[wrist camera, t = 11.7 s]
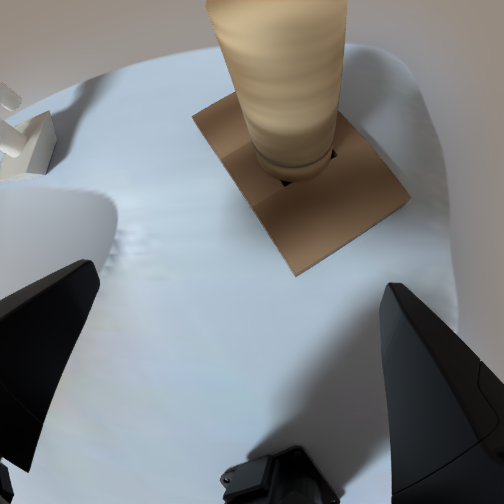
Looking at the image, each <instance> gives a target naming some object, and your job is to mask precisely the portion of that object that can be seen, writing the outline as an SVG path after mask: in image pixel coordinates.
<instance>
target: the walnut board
mask: <svg viewBox="0 0 504 504" xmlns="http://www.w3.org/2000/svg"><path fill="white" fill-rule="evenodd" d="M192 118H193V120H194V122H195V123H196V125H197V127H198V128H199V130H200V131H201V133H202V134H203V136H204V137H205V139H206V140H207V142H208V143H209V145H210V146H211V148H212V149H213V151H214V152H215V154H216V155H217V157H218V158H219V160H220V161H221V163H222V164H223V166H224V167H225V169H226V170H227V172H228V173H229V175H230V176H231V178H232V179H233V181H234V182H235V184H236V185H237V187H238V188H239V190H240V191H241V193H242V194H243V196H244V197H245V199H246V201H247V202H248V204H249V205H250V207H251V208H252V210H253V211H254V213H255V214H256V216H257V217H258V219H259V221H260V222H261V224H262V225H263V227H264V228H265V230H266V231H267V233H268V235H269V236H270V238H271V239H272V241H273V242H274V244H275V246H276V247H277V249H278V250H279V252H280V253H281V255H282V257H283V258H284V260H285V261H286V263H287V264H288V266H289V268H290V269H291V271H292V272H293V274H294V276H295V277H297V276H298V275H300V274H302V273H303V272H305V271H306V270H308V269H310V268H311V267H313V266H314V265H316V264H317V263H319V262H320V261H322V260H324V259H325V258H327V257H328V256H330V255H331V254H333V253H334V252H336V251H337V250H339V249H340V248H342V247H343V246H345V245H346V244H348V243H349V242H351V241H352V240H354V239H355V238H357V237H358V236H360V235H361V234H363V233H364V232H366V231H367V230H369V229H370V228H372V227H373V226H375V225H376V224H378V223H379V222H381V221H382V220H383V219H385V218H386V217H388V216H389V215H391V214H392V213H394V212H395V211H396V210H398V209H399V208H401V207H402V206H404V205H405V204H406V202H407V201H408V200H409V199H410V198H411V197H410V195H409V194H408V193H407V191H406V190H405V188H404V187H403V186H402V184H401V183H400V182H399V181H398V179H397V178H396V177H395V175H394V174H393V173H392V171H391V170H390V169H389V168H388V166H387V165H386V164H385V163H384V162H383V160H382V159H381V158H380V157H379V155H378V154H377V153H376V152H375V151H374V150H373V148H372V147H371V146H370V145H369V144H368V143H367V141H366V140H365V139H364V138H363V137H362V136H361V135H360V133H359V132H358V131H357V130H356V129H355V128H354V127H353V126H352V125H351V124H350V123H349V122H348V120H347V119H346V118H345V117H344V116H343V115H342V114H341V113H340V112H339V111H337V119H336V127H335V136H334V142H333V148H332V155H331V160H330V162H329V164H328V165H327V167H326V168H325V169H324V171H323V172H321V173H320V174H319V175H318V176H316V177H314V178H312V179H310V180H307V181H302V182H292V183H291V184H289V185H287V186H286V187H284V185H283V184H282V182H281V181H280V180H279V179H276V178H274V177H272V176H271V175H269V174H268V173H267V172H266V171H265V170H264V169H263V168H262V167H261V165H260V163H259V161H258V159H257V155H256V152H255V149H254V146H253V144H252V141H251V137H250V133H249V130H248V127H247V124H246V121H245V118H244V115H243V112H242V109H241V106H240V103H239V100H238V97H237V94H236V91H235V92H234V93H232V94H230V95H228V96H226V97H224V98H223V99H221V100H219V101H217V102H215V103H214V104H212V105H210V106H209V107H207V108H205V109H203V110H202V111H200V112H198V113H197V114H195V115H193V116H192Z"/></svg>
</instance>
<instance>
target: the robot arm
mask: <svg viewBox="0 0 504 504" xmlns="http://www.w3.org/2000/svg"><path fill="white" fill-rule="evenodd" d="M99 287H100V279H99V276H98V274H97V271H96V268H95V266H94V263H93V262H92V261H91V260H85V259H82V260H79V261H77V262H74V263H72V264H70V265H68V266H66V267H64V268H62V269H60V270H58V271H56V272H54V273H52V274H50V275H48V276H46V277H44V278H42V279H40V280H38V281H36V282H34V283H32V284H30V285H28V286H26V287H24V288H22V289H21V290H19V291H17V292H15V293H13V294H11V295H9V296H7V297H5V298H4V299H2V300H0V504H11V501H12V499H13V496H14V493H13V489H12V485H11V481H10V477H9V472H8V468H7V467H6V466H5V465H4V464H3V463H2V462H1V460H2V458H5V459H6V460H8V461H9V462H11V463H12V464H14V465H16V466H17V467H19V468H20V469H22V470H24V471H25V472H27V473H29V471H30V468H31V464H32V461H33V457H34V453H35V450H36V447H37V443H38V440H39V437H40V434H41V431H42V427H43V424H44V421H45V418H46V415H47V412H48V410H49V407H50V404H51V401H52V399H53V396H54V393H55V391H56V388H57V386H58V383H59V381H60V378H61V376H62V373H63V371H64V369H65V366H66V364H67V362H68V359H69V357H70V355H71V353H72V350H73V348H74V346H75V344H76V342H77V340H78V337H79V335H80V333H81V331H82V329H83V327H84V325H85V322H86V320H87V317H88V315H89V312H90V310H91V307H92V304H93V302H94V299H95V297H96V295H97V292H98V290H99ZM379 316H380V331H381V354H382V366H383V373H384V381H385V389H386V398H387V407H388V418H389V430H390V445H391V470H392V495H393V496H392V497H391V504H504V384H503V383H502V382H501V381H500V380H499V379H498V378H497V377H496V375H495V374H494V373H493V372H492V371H491V370H490V369H489V368H488V367H487V366H486V365H485V364H484V363H483V362H482V361H480V359H479V357H478V356H477V355H476V354H475V353H474V352H473V351H472V350H471V349H470V348H469V347H468V346H467V345H466V344H465V343H464V342H463V341H462V340H461V339H460V338H459V337H458V336H457V335H456V334H455V333H454V332H453V331H452V330H451V329H450V328H449V327H448V326H447V325H446V324H445V323H444V322H443V321H442V320H441V319H440V318H439V317H438V316H437V315H436V314H435V313H434V312H433V311H432V310H430V309H429V308H428V307H427V306H426V305H425V304H424V303H423V302H422V301H421V300H420V299H419V298H418V297H417V296H415V295H414V294H413V293H412V292H411V291H410V290H409V289H408V288H407V287H406V286H404V285H403V284H402V283H391V282H390V283H388V284H387V285H386V288H385V291H384V294H383V298H382V301H381V304H380V309H379ZM295 451H300V452H301V453H300V454H298V455H297V454H295V453H294V452H295ZM225 478H227V479H229V480H230V481H227V480H225ZM220 482H221V483H222V485H223V486H224V487H225V488H226V491H225V493H224V495H223V500H224V501H225V503H224V504H340V498H339V496H338V495H337V493H336V492H335V491H334V489H333V488H332V487H331V485H330V484H329V482H328V481H327V480H326V478H325V477H324V476H323V474H322V473H321V471H320V470H319V469H318V467H317V466H316V464H315V463H314V462H313V460H312V459H311V457H310V456H309V454H308V453H307V452H306V450H305V449H304V448H303V447H302V446H298V445H297V446H293V447H291V448H289V449H287V450H285V451H282V452H280V453H278V454H275V455H266V456H263V457H261V458H258V459H256V460H253V461H251V462H248V463H245V464H243V465H240V466H238V467H237V469H236V470H233V471H230V472H227V473H224V474H223V475H222V476H221V478H220ZM333 500H336V501H335V502H331V501H333Z"/></svg>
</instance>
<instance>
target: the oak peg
mask: <svg viewBox="0 0 504 504" xmlns="http://www.w3.org/2000/svg"><path fill="white" fill-rule="evenodd" d="M206 9H207V12H208V15H209V17H210V20H211V23H212V25H213V28H214V31H215V34H216V37H217V39H218V42H219V45H220V48H221V51H222V53H223V56H224V59H225V62H226V65H227V68H228V71H229V73H230V76H231V79H232V82H233V85H234V88H235V91H236V94H237V97H238V100H239V103H240V106H241V109H242V112H243V115H244V118H245V121H246V124H247V127H248V130H249V133H250V137H251V141H252V144H253V146H254V149H255V152H256V155H257V159H258V161H259V163H260V165H261V167H262V168H263V169H264V170H265V171H266V172H267V173H268V174H269V175H271V176H272V177H274V178H276V179H279V180H282V181H286V182H302V181H307V180H310V179H312V178H314V177H316V176H318V175H319V174H320V173H321V172H323V171H324V169H325V168H326V167H327V165H328V164H329V162H330V159H331V155H332V148H333V142H334V136H335V127H336V119H337V111H338V103H339V95H340V86H341V77H342V67H343V56H344V44H345V30H346V15H347V0H207V2H206Z"/></svg>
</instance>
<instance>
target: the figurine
mask: <svg viewBox="0 0 504 504" xmlns="http://www.w3.org/2000/svg"><path fill="white" fill-rule="evenodd" d="M21 102H22V98H21V97H20V96H19V95H18V94H17V93H15V92H14V91H13V90H12V89H11V88H9V87H8V86H7V85H6V84H4V83H3V82H1V81H0V105H2V106H4V107H5V108H6V109H8V110H10V111H13V110H16V109H17V108H18V107H19V106H20V104H21ZM56 141H57V138H56V135H55V131H54V127H53V123H52V119H51V114H50V110H49V111H47V112H44V113H42V114H40V115H38V116H36V117H33V118H31V119H29V120H27V121H25V122H23V123H21V124H19V125H17V126H15V128H13V127H12V126H10V125H9V124H8V123H6V122H5V121H3V120H2V119H0V150H1V151H3V152H4V156H3V158H2V161H1V164H0V182H8V181H20V180H27V179H31V178H35V177H39V176H43V175H46V172H47V168H48V165H49V162H50V159H51V156H52V153H53V150H54V147H55V144H56Z"/></svg>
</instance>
